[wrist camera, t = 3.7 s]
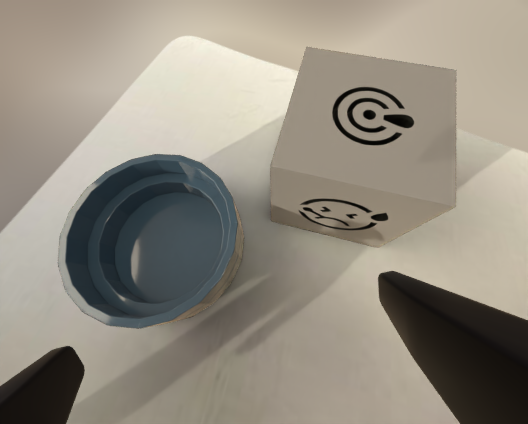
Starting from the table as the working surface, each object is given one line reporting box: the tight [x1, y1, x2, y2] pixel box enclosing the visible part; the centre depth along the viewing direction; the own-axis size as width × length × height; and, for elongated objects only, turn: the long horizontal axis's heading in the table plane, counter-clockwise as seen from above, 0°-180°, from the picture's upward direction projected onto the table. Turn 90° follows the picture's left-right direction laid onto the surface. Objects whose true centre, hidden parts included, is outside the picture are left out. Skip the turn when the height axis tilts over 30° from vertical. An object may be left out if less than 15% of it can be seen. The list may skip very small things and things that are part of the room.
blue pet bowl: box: [58, 154, 244, 329], centre depth 20 cm, size 13×13×5 cm
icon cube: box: [270, 47, 456, 248], centre depth 20 cm, size 10×10×10 cm
